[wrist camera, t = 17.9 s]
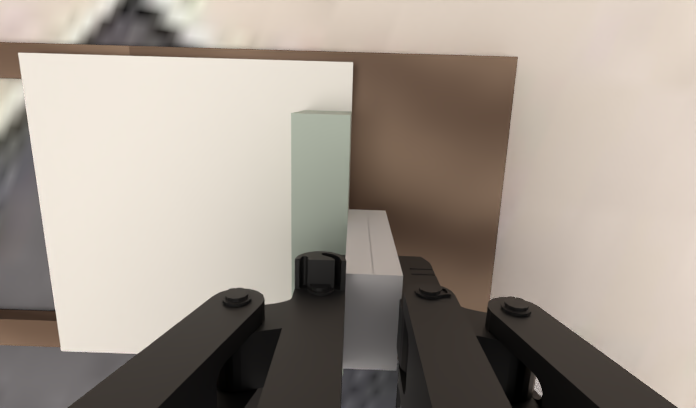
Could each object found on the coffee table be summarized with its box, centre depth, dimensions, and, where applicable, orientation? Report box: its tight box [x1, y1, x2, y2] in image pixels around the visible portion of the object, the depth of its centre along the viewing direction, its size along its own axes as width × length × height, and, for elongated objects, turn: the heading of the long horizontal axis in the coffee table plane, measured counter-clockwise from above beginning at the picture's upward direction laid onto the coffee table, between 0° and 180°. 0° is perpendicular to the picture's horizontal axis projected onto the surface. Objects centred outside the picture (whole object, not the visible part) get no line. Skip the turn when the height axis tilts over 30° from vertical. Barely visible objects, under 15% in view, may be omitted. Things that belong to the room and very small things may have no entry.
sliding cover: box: [18, 53, 353, 376], centre depth 18 cm, size 14×14×5 cm
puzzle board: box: [0, 42, 518, 359], centre depth 21 cm, size 15×30×1 cm, turn 88°
